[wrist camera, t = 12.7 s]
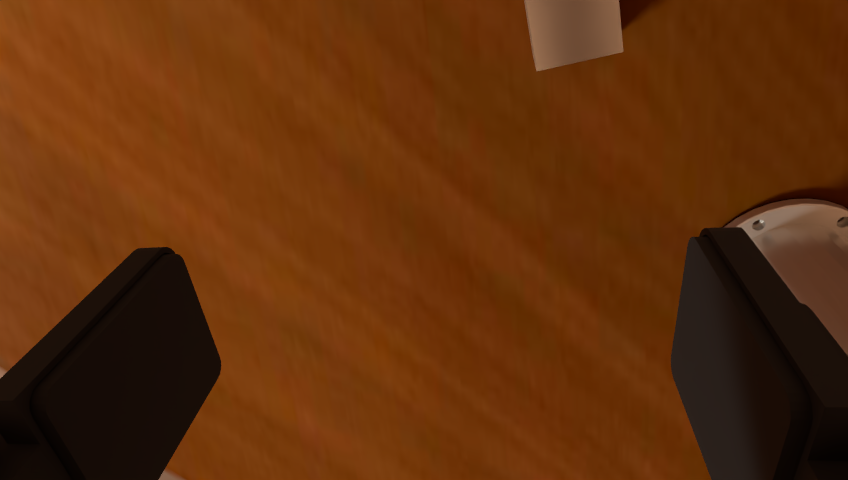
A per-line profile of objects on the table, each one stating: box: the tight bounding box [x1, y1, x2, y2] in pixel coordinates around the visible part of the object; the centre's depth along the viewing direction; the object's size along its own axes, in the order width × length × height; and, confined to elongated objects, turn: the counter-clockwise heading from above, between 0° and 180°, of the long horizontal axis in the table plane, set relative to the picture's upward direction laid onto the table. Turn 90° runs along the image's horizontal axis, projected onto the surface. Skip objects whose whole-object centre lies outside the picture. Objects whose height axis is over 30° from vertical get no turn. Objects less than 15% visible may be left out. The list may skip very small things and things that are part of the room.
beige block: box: [524, 0, 623, 71], centre depth 34 cm, size 5×5×4 cm
